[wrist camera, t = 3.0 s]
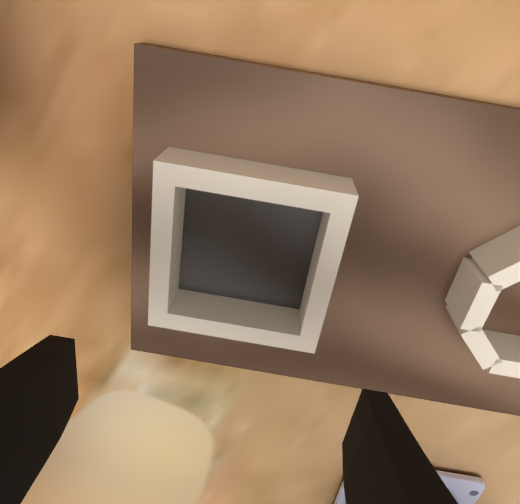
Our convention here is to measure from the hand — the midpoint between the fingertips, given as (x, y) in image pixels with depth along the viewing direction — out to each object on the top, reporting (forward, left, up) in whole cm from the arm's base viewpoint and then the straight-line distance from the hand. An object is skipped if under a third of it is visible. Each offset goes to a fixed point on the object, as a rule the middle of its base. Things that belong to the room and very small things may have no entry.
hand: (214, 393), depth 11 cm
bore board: (0, -6, -9) cm, 11 cm away
